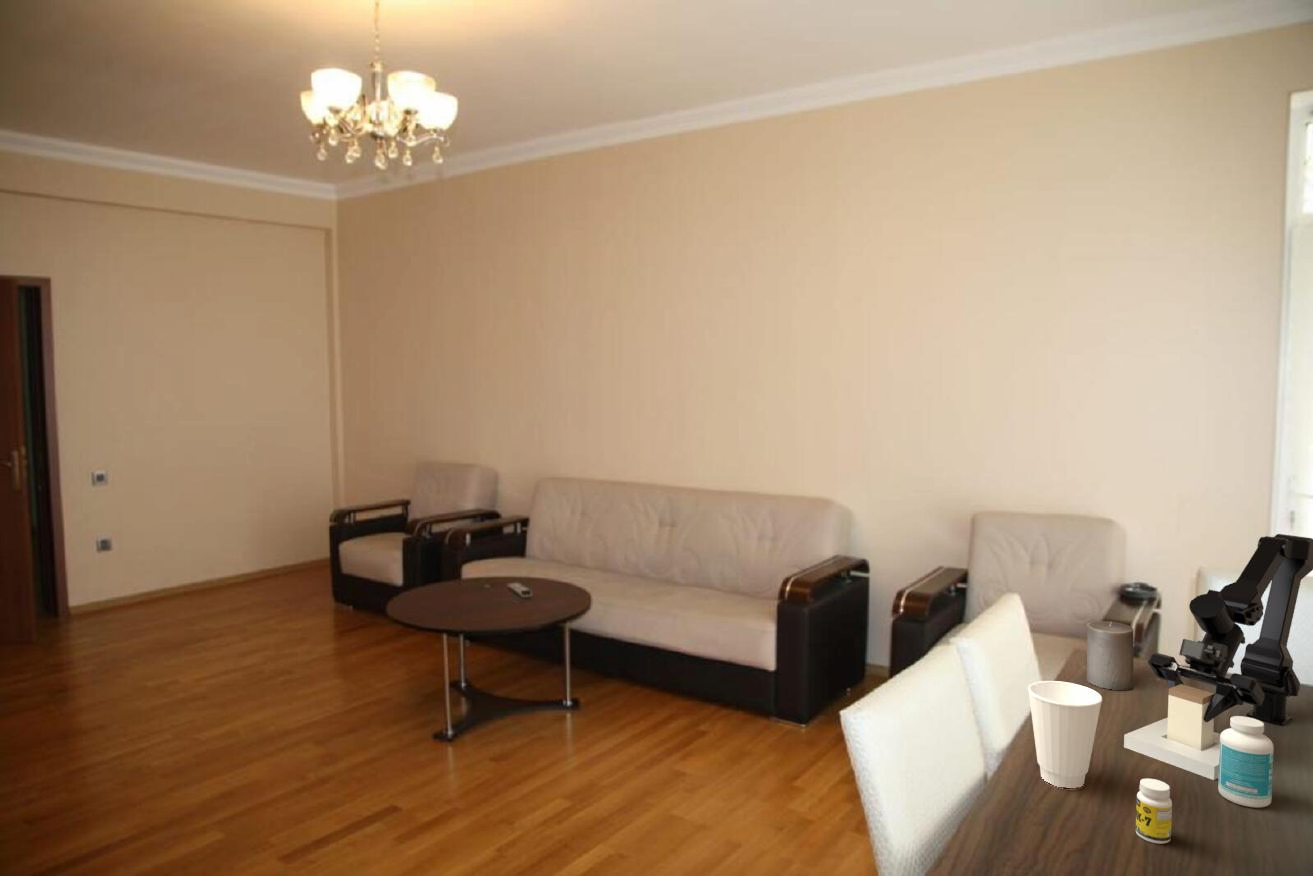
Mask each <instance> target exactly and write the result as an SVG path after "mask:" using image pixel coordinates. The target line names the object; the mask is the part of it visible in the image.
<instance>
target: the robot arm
mask: <svg viewBox="0 0 1313 876" xmlns="http://www.w3.org/2000/svg"><path fill="white" fill-rule="evenodd" d="M1312 571H1313V538H1312V537H1306V536H1297V535H1291V534H1282V533H1277V534H1276V535H1274V536H1268V535H1266V536H1261V537H1260V538H1259V539H1258V541H1257V547H1256V549H1255V551H1254V553H1253V554H1252V556H1251V558H1250V559H1249V561H1248V562H1247V564H1246V565H1245V566H1244V569H1243V570H1242V572H1240V573H1241V574H1240V575H1239V576H1238V578H1237V579H1236V580H1235V582H1232V583H1228V584H1227V585H1225V586H1223V587H1222V588H1221V590H1220V591H1219V590H1212V589H1208V591H1207V593H1204V594H1200V595H1197V596H1196V597H1194V598H1193V599H1191V601H1190V602H1189V605H1188V607H1189V610H1190V613H1191V614H1192V616H1193V617H1194V620H1195V621H1196V623H1197V624H1198V626H1199V628H1200V629H1201V630H1202V632H1204V636H1203V638H1202V640H1197V641H1195V640H1190V639H1186V638H1183V639H1182V642H1181V646H1180V650H1179V652H1178V654H1179V656H1181V657H1182V656H1183V657H1184V658H1185V659H1184V661H1185V663H1186V664H1187V665H1189V667H1188V666H1184V665H1183V666H1182V665H1180V664H1179V663H1178V662H1177V660H1176V659H1175V657H1174V656H1170V655H1166V654H1163V653H1159V652H1154V653H1152V654H1151V655H1150V657H1149V658H1148V660H1147V664H1148V665H1149V667H1150V668H1151V670H1152V672H1153V674H1155V677H1157V678H1159V679H1161V680H1163V681H1164V680H1165V681H1166V682H1167V697H1168V696H1169V688H1172V687H1174V686H1177V685H1180V684H1183V685H1185V683H1184V682H1183V680H1184V678H1187V679H1190V680H1194V681H1197V682H1201V683H1204V684H1207V685H1212V686H1215V687H1216V688H1215V692H1214V694H1215V695H1214V697H1213V699H1212V701H1211V703H1210V705H1209V706H1208V708H1207V710H1206V713H1205V715H1204V721H1205V722H1209V721H1210V720H1212V719H1213V718H1214V719H1215V718H1216V717H1218V716H1219V715H1221V714H1222V713H1224V712H1225V711H1227V710H1230V709H1232V708H1233V707H1235V706H1237V705H1238V706H1243V705H1244V703H1245V704H1249V705H1252V709H1251V710H1249V711H1247V712H1246V713H1245V717H1249V718H1253V719H1256V720H1259V721H1265V722H1268V723H1272V724H1276V725H1279V726H1283V725H1285V724H1286V723H1288V722H1289V721H1290V719H1291V720H1292V719H1293V715H1291V714H1287V705H1288V704H1287V702H1288V698H1289V697H1298V696H1299V691H1300V689H1301V687H1300V685H1301V682H1300V680H1299V678H1298V676H1297V675H1296V672H1295V671H1294V669H1293V668H1294V667H1293V666H1294V659H1293V658H1292V655H1291V653H1290V651H1289V649H1288V647H1287V646H1288V642H1289V637H1290V631H1291V627H1292V623H1293V620H1294V619H1293V618H1294V614H1295V609H1296V604H1297V602H1298V601H1297V599H1298V595H1299V592H1300V587H1301V581H1302V580H1303V579H1304V578H1306V576H1307V575H1309V574H1310V573H1311V572H1312ZM1269 585H1270V588H1269V592H1268V596H1267V601H1266V605H1265V606H1266V607H1265V610H1264V603H1263V600H1262V598H1263V595H1264V593H1265V592H1266V590H1267V589H1268V587H1269ZM1262 617H1263V619H1262ZM1261 619H1262V625H1261V628H1260V632H1259V638H1258V639H1256V640H1255V641H1254V642H1253V643H1250V642H1249V643H1248V644H1247V645H1246V646H1245V651H1244V655H1243V657H1242V659H1241V661H1240V664H1239V665H1240V673H1236V672H1235V673H1233V674H1231V676H1230V678H1228V677H1226V676H1227V673H1228V671H1229V670H1230V669H1233V668H1234V666H1235V661H1233V660H1234V658H1235V656H1236V653H1237V651H1238V649H1239V647H1240V645H1245V644H1246V637H1245V636H1244V635H1245V633H1244V631H1243V629H1242V628H1241V627H1240V625H1242V626H1243V625H1245V626H1248V627H1251V626H1252V627H1253V626H1255V625H1256V624H1257V623H1258V622H1260V621H1261ZM1238 624H1240V625H1238Z"/></svg>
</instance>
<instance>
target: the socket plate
mask: <svg viewBox="0 0 1313 876" xmlns="http://www.w3.org/2000/svg"><path fill="white" fill-rule="evenodd" d="M1167 726H1168V716H1167V717H1165V718H1163V719H1160V720H1158V721H1155V722H1153V723H1150V724H1147V725H1145V726H1143V727H1140V728H1137V729H1135V730H1132V731H1129V732H1128V733H1125V734H1124V736H1123V747H1124V748H1125V749H1128V750H1131V751H1133V752H1135V753H1139V754H1141V755H1144V756H1146V757H1150V758H1152V759H1155V760H1158V761H1160V762H1163V763H1166V764H1168V765H1172V766H1174V767H1177V768H1180V769H1182V770H1185V771H1188V772H1191V773H1193V774H1196V775H1198V776H1201V777H1204V778H1207V779H1208V780H1209V779H1210V780H1212V781H1215V780H1218V779H1219V752H1220V735H1221V733H1219V732H1215V731H1213V747H1211V748H1209V749H1207V750H1204V751H1201V750H1198V749H1195V748H1192V747H1189V746H1186V745H1184V744H1181V743H1178V742H1175V741H1172V740H1169V739H1167Z"/></svg>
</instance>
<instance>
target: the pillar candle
mask: <svg viewBox="0 0 1313 876" xmlns="http://www.w3.org/2000/svg"><path fill="white" fill-rule="evenodd" d="M1086 626H1087V632H1086V633H1087V636H1086V637H1087V638H1086V639H1087V641H1086V642H1087V643H1086V682H1087V681H1088V682H1089V683H1088V682H1087V683H1088V684H1090V683H1091V684H1090V685H1093V686H1095V685H1096V686H1095V687H1097V686H1098V687H1097V688H1099V687H1104V688H1108V689H1112V690H1111V691H1127V690H1131V689H1133V688H1132V687H1134V684H1133V683H1134V653H1135V652H1134V645H1135V644H1134V641H1135V640H1134V639H1135V637H1134V632H1135V631H1134V630H1135V629H1134V628H1133V627H1132V626H1130V625H1128V624H1125V623H1121V622H1116V621H1109V620H1107V621H1105V620H1097V621H1090V622H1088V623H1086ZM1132 685H1133V686H1132ZM1108 689H1107V690H1108Z"/></svg>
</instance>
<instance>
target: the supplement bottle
mask: <svg viewBox="0 0 1313 876" xmlns="http://www.w3.org/2000/svg"><path fill="white" fill-rule="evenodd" d="M1138 789H1139V791H1138V792H1137V794H1136V804H1135V805H1136V808H1135V809H1136V810H1135V832H1136V835H1137V836H1138V837H1139V838H1141V839H1143V840H1145V841H1147V842H1149V843H1153V844H1161V845H1162V844H1163V845H1164V844H1167V843H1169V842H1170V841H1171V837H1172V819H1173V818H1172V817H1173V816H1172V815H1173V801H1172V799H1171V797H1170V796H1171V787H1170V785H1169V784H1167V783H1166V782H1164V781H1162V780H1159V779H1154V778H1141V779H1140V782H1139V787H1138Z"/></svg>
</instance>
